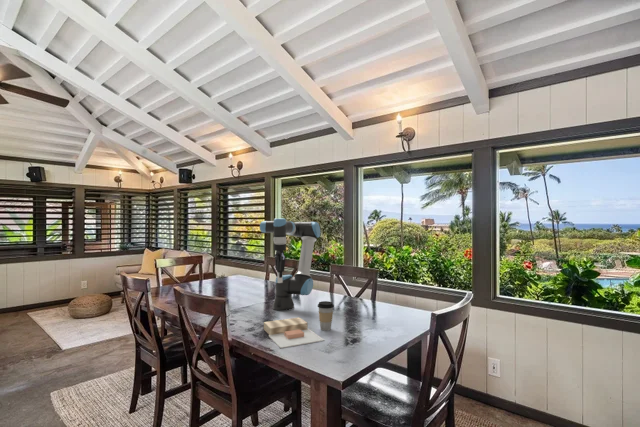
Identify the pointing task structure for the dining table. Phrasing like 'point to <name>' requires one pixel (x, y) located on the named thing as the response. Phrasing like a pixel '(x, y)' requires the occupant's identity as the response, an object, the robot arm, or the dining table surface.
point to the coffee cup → (325, 315)
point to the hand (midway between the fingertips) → (280, 282)
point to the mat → (296, 339)
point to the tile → (294, 334)
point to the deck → (285, 325)
